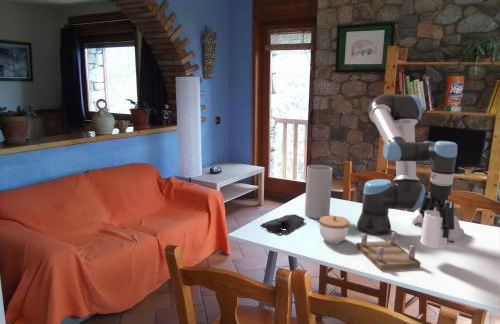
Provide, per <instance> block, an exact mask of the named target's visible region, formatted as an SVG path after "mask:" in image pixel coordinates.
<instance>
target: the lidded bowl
mask: <svg viewBox="0 0 500 324" xmlns="http://www.w3.org/2000/svg"><path fill="white" fill-rule="evenodd" d="M318 222H319V226H318V227H319V233H320V236H321V237H322V238H323V240H324V242H327V243H328V244H332V245H333V244H335V245H337V244H341V243H342V242H343V241H344V240H345V239H346V238H347V236H348V233H349V228H350V220H349V219H348V218H345V217H342V216H339V215H329V216H323V217H321V218H320V219H319V221H318Z"/></svg>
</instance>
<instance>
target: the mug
mask: <svg viewBox="0 0 500 324" xmlns="http://www.w3.org/2000/svg"><path fill="white" fill-rule="evenodd" d="M442 219H443V218H440V213H439V211H438V210H435V209H434V210H428V211H425V214H424V222H423V229H422V228H421V230H422V233H421V237H420V240H419V241H420V243H421V244H422V245H424V246H425V247H428V248H433V249H443V248H444V247H445V246H446V245H438V244H439V237H440V230H441V228H443V227H442ZM445 226H446V225H445Z"/></svg>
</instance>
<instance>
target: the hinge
mask: <svg viewBox="0 0 500 324" xmlns="http://www.w3.org/2000/svg"><path fill="white" fill-rule="evenodd" d="M460 224H461V223H460V221H459V218H458V216H456V215H454V229H453V230H449V235H448V238H447V241H449V242H450V241H452V242H453V244H457V243H458V242H459V240H460V239H461V238H462V237H463V236H464V235H465V230H464V229H463V228H461V225H460Z"/></svg>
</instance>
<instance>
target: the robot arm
mask: <svg viewBox="0 0 500 324" xmlns="http://www.w3.org/2000/svg"><path fill="white" fill-rule="evenodd" d="M423 110H424V109H423V103H422V100H421V98H420V97H419V95H418V96H417V95H415V94H408V93H407V94H395V93H394V94H391V93H390V94H388V93H386V94H381V95H378V96H377V97H375V98H374V99H373V100H372V101H371V102H370V104H369V106H368V109H367V113H368V117H369V119H370V121H371V122H372V123H373V124H375V127H376V128H377V130H378V132H379V134H380V136H381V138H382V141H383V142H384V145H383V148H382V155H383V158H384V159H385V160H386V161H390V162H392V161H393V162H395V171H396V172H395V174H396V176H395V177H394V178H393V180H392V181H391V180H390V179H386V178H385V179H383V178H378V179H376V178H375V179H372V180H371V179H370V180H368V181H366V182H364V187H363V191H362V192H363V195H362V196H363V198H362V208H361V213H360V216H359V218H358V220H357V222H356V229H357V230H358V231H359V232H362V233H363V234H367V235H368V234H369V235H373V236H385V235H390V234H391V233H392V232H391V231H392V226H391V221H390V217H389V211H390V209H392V210H410V211H411V210H418V209H419V208H421V209H420V211H419V213H420V214H422V217H423V219H422V224H421V232H420V234H422V229H423V222H424V214H425V211H428V210H435V208H436V209H437V210H436V211H439V213H440V218H443V219H442V227H443V228H441V230H440V237H439V244H438V245H445V246H447V242H448V240H447V238H448V235H449V230H453V229H454V216H455V214H454V207H455V203H454V202H453V201H449V196H450V195H451V194H452V189H453V185H452V184H453V183H454V177H455V170H456V169H455V168H456V163H457V162H456V161H457V156H458V144H457V143H456V142H454V141H448V140H447V141H446V140H438V141H436V142H435V141H430V140H426V141H423V142H418V141H417V142H416V134H415V133H416V130H415V126H416V125H417V124H418V121H419V120H420V119H421V118H422V117H423V116H422V115H423ZM417 162H421V163H422V162H423V163H425V162H426V163H431V172H430V173H431V174H430V178H429V179H430V182H429V185H428V186H429V187H428V191H427V188H426V186H425V185H424V184H423V183H421V179H420V178H419V177H418V176H417ZM423 210H424V211H423ZM445 225H446V226H445Z"/></svg>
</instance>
